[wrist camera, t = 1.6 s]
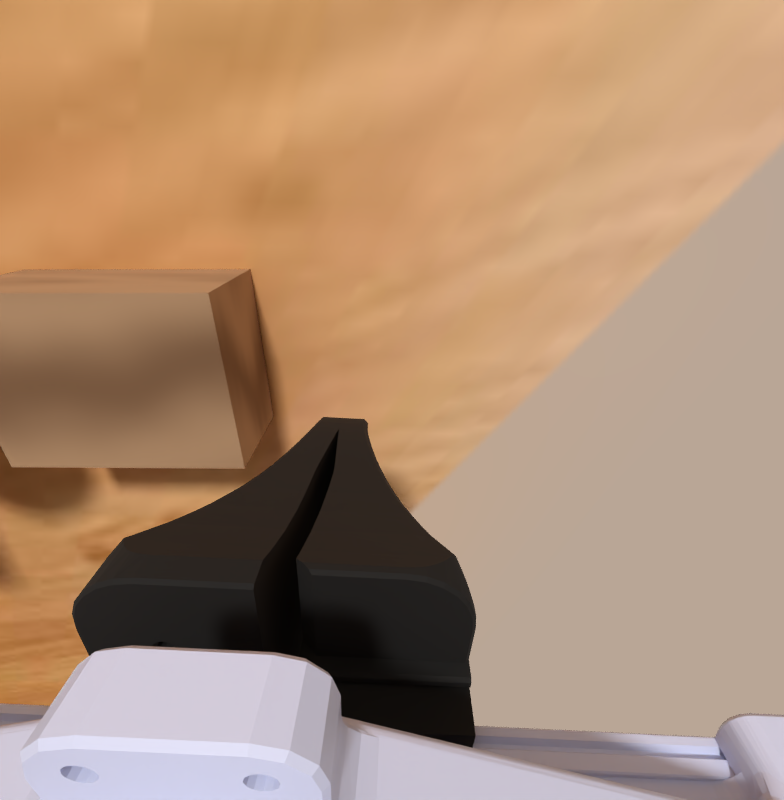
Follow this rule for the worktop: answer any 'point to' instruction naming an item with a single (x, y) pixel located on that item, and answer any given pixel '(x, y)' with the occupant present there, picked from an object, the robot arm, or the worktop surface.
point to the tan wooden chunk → (131, 368)
